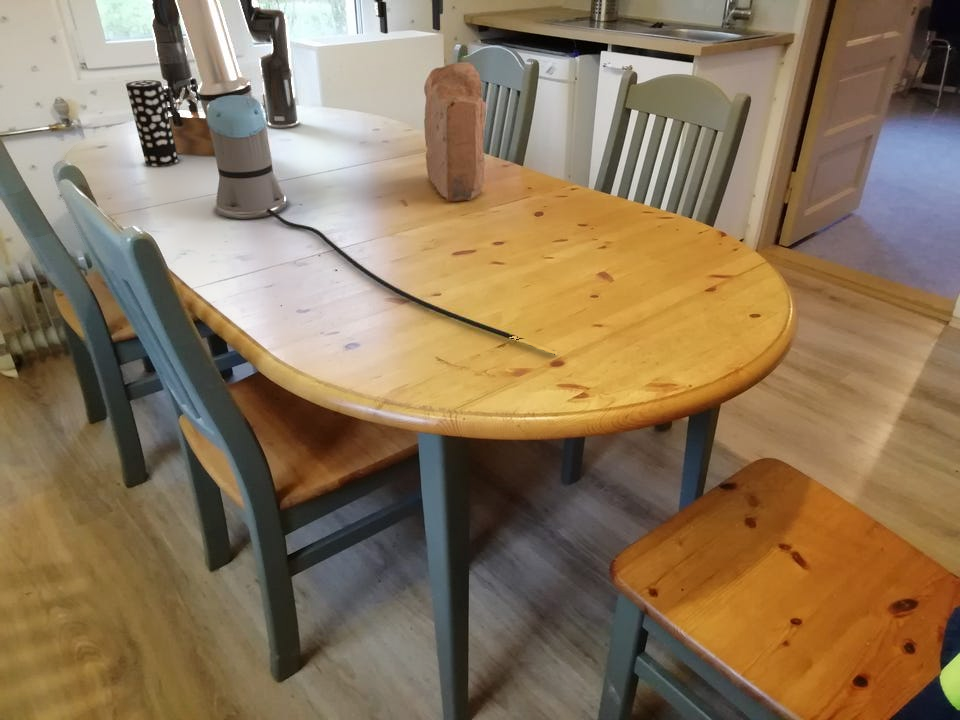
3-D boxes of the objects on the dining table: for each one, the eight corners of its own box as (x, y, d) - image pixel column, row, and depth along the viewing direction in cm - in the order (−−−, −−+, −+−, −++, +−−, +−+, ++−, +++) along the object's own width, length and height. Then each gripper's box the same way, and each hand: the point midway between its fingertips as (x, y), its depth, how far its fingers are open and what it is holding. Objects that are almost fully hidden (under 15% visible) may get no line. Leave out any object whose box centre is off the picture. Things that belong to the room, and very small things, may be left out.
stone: (494, 199, 163) (495, 72, 149) (448, 204, 160) (444, 75, 146) (466, 175, 181) (465, 60, 167) (425, 179, 178) (420, 62, 164)
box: (261, 152, 195) (255, 115, 190) (251, 158, 190) (245, 120, 185) (187, 147, 199) (179, 110, 193) (175, 153, 194) (167, 115, 188)
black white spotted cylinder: (184, 157, 190) (167, 80, 179) (169, 166, 183) (151, 87, 172) (155, 156, 190) (136, 79, 179) (139, 165, 183) (119, 86, 172)
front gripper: (449, -74, 161) (450, 26, 172) (347, -75, 150) (355, 32, 162) (464, -74, 155) (464, 30, 167) (359, -75, 145) (367, 36, 156)
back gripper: (175, 54, 189) (188, 115, 198) (144, 63, 177) (160, 128, 186) (200, 55, 188) (212, 117, 197) (171, 64, 176) (185, 129, 185)
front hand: (410, 31), depth 164 cm, fingers open, 13 cm apart
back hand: (187, 122), depth 191 cm, fingers open, 8 cm apart
